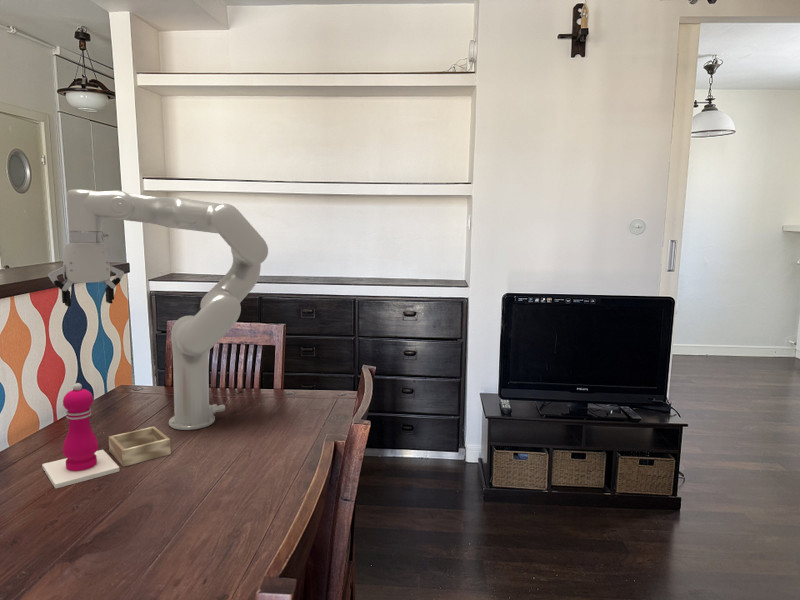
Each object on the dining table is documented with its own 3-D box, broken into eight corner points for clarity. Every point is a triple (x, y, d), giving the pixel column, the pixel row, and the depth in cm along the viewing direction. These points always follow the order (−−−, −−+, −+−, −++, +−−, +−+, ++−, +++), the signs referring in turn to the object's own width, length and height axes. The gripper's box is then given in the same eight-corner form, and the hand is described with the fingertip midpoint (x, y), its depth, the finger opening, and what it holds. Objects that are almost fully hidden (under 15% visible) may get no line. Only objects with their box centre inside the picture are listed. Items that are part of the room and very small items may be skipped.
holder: (154, 440, 144) (154, 426, 144) (170, 454, 136) (170, 439, 136) (109, 451, 137) (108, 436, 136) (123, 466, 129) (122, 450, 128)
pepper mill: (83, 474, 122) (78, 389, 120) (55, 470, 124) (50, 386, 121) (106, 460, 129) (102, 380, 127) (80, 457, 131) (76, 377, 128)
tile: (103, 453, 136) (102, 449, 135) (119, 471, 126) (119, 467, 126) (42, 468, 127) (42, 464, 126) (55, 488, 117) (55, 484, 117)
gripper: (117, 238, 147) (120, 300, 149) (42, 237, 135) (47, 305, 137) (126, 239, 141) (129, 303, 144) (49, 239, 129) (53, 309, 132)
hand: (89, 304), depth 140 cm, fingers open, 9 cm apart
